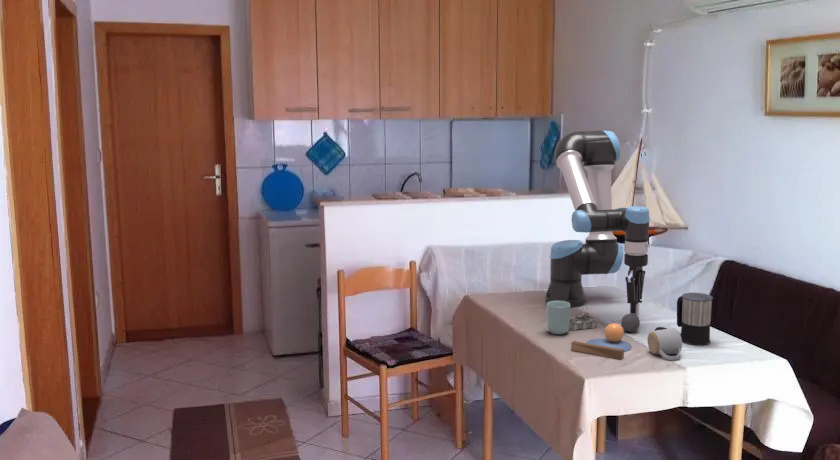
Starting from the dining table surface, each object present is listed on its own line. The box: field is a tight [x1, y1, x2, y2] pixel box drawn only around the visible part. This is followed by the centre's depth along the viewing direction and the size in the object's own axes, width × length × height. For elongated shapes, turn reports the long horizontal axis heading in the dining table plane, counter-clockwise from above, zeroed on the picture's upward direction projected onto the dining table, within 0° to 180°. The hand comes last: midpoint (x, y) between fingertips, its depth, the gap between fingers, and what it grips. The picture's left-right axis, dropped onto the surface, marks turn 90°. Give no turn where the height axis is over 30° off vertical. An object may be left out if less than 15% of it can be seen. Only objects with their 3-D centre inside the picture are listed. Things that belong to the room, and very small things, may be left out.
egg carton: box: [568, 311, 598, 331], centre depth 261 cm, size 11×8×4 cm
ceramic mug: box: [647, 327, 683, 361], centre depth 231 cm, size 11×8×8 cm
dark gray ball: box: [620, 313, 641, 333], centre depth 254 cm, size 6×6×6 cm
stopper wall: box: [570, 340, 625, 360], centre depth 233 cm, size 2×16×2 cm, turn 55°
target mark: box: [585, 337, 633, 353], centre depth 241 cm, size 14×14×1 cm
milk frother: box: [653, 292, 714, 346], centre depth 243 cm, size 14×16×15 cm
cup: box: [546, 301, 571, 335], centre depth 254 cm, size 8×8×10 cm
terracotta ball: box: [603, 322, 625, 342], centre depth 244 cm, size 6×6×6 cm
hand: (634, 321), depth 259 cm, fingers closed
